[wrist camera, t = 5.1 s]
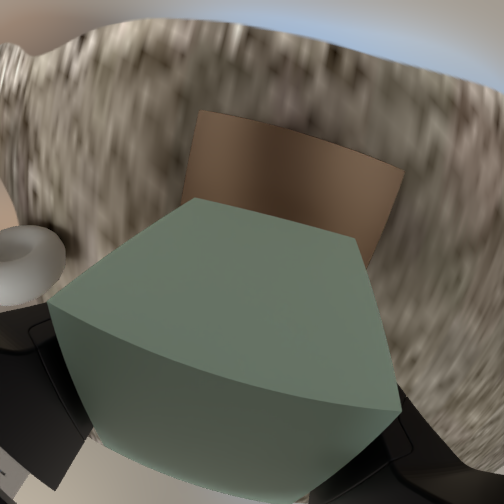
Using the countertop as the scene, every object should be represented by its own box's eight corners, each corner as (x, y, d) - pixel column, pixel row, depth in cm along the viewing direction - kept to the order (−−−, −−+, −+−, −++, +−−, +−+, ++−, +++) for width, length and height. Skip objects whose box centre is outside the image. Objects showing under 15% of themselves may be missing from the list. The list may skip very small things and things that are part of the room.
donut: (27, 242, 23) (-41, 286, 14) (23, 212, 22) (-50, 251, 13) (89, 269, 22) (12, 333, 14) (87, 234, 21) (-3, 293, 12)
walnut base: (384, 162, 15) (405, 171, 11) (329, 300, 19) (331, 337, 16) (223, 113, 16) (199, 109, 12) (193, 257, 20) (169, 285, 17)
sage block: (354, 238, 8) (401, 411, 3) (307, 357, 10) (288, 506, 5) (194, 197, 9) (46, 301, 3) (182, 321, 11) (104, 445, 5)
